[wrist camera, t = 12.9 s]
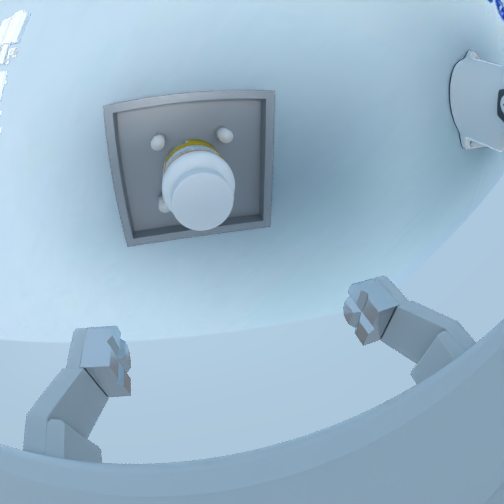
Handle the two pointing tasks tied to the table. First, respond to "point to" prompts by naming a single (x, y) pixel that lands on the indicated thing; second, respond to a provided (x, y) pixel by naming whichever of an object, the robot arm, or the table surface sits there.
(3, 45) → the syringe
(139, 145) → the pin tray
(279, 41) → the table surface
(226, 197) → the supplement bottle
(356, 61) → the table surface
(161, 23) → the table surface
